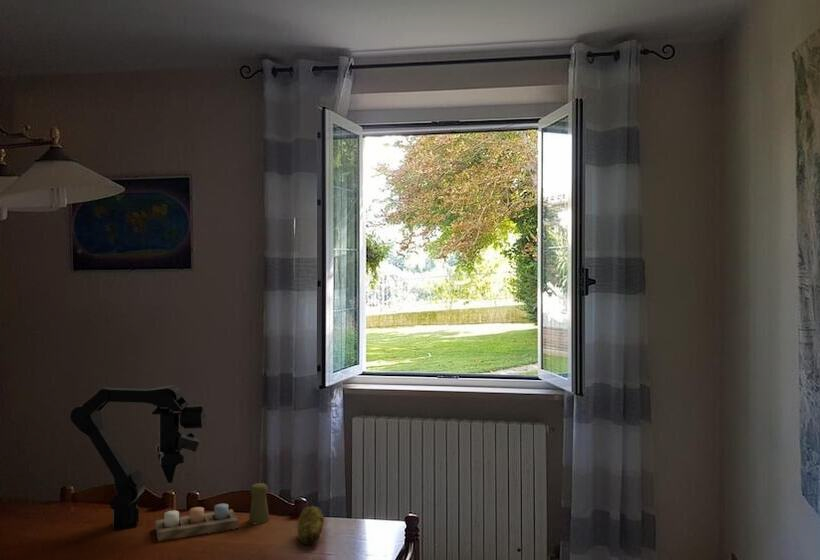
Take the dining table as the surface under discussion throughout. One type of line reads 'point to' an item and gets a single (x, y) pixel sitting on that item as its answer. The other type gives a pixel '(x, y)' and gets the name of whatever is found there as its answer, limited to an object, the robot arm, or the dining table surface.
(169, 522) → the cream button
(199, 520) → the peach short cylinder
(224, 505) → the pale blue cylinder
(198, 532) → the button board
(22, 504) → the dining table surface
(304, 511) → the potato
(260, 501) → the green shaker
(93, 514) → the dining table surface
